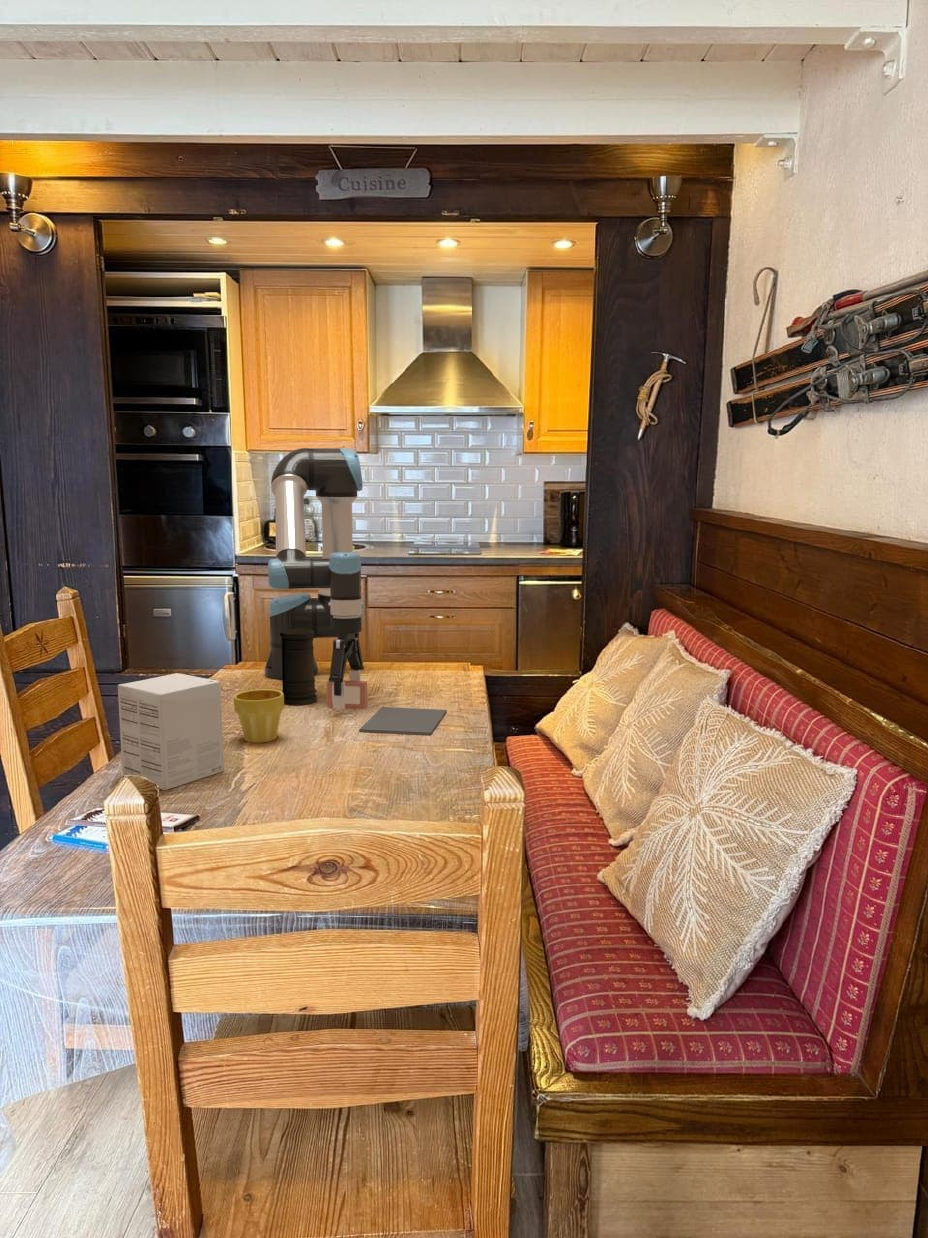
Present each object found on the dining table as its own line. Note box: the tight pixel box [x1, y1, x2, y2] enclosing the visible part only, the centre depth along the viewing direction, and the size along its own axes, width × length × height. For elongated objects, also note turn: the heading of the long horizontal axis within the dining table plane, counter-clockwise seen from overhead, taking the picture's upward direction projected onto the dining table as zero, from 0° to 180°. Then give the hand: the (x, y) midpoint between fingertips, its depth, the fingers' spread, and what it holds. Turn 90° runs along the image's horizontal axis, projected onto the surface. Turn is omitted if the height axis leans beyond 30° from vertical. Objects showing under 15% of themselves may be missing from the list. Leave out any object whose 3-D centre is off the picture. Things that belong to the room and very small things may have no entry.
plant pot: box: [233, 688, 285, 744], centre depth 178 cm, size 10×10×10 cm
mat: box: [359, 706, 448, 736], centre depth 193 cm, size 20×16×1 cm
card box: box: [326, 679, 368, 710], centre depth 205 cm, size 2×10×6 cm, turn 81°
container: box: [280, 629, 318, 706], centre depth 210 cm, size 9×9×18 cm
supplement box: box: [117, 672, 225, 791], centre depth 154 cm, size 13×13×18 cm
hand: (347, 701), depth 205 cm, fingers open, 13 cm apart
